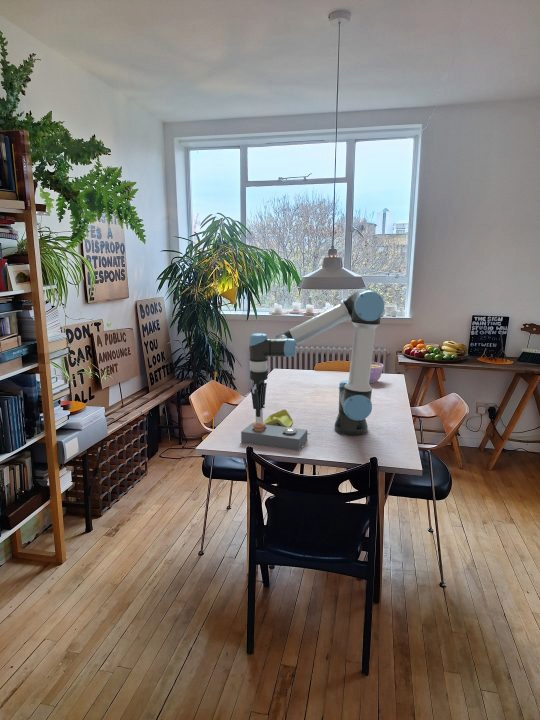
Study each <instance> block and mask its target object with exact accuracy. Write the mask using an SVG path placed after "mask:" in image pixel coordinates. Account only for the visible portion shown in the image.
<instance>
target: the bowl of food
mask: <svg viewBox="0 0 540 720" xmlns="http://www.w3.org/2000/svg"><path fill="white" fill-rule="evenodd" d="M384 367H385V366H384V364H383V363H381V362H376V361H372V363H371V371H370V380H369V384H373V382H377V381H379V380H380V378H381V377H382V375H383V374H382V372H383V370H384Z"/></svg>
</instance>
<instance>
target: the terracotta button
mask: <svg viewBox="0 0 540 720" xmlns="http://www.w3.org/2000/svg"><path fill="white" fill-rule="evenodd" d="M252 423H253V427H254V430H255V431H264V427H266V423H265V422H264V421H263V423H262V424H258V423H256V421H255V422H252Z"/></svg>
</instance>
